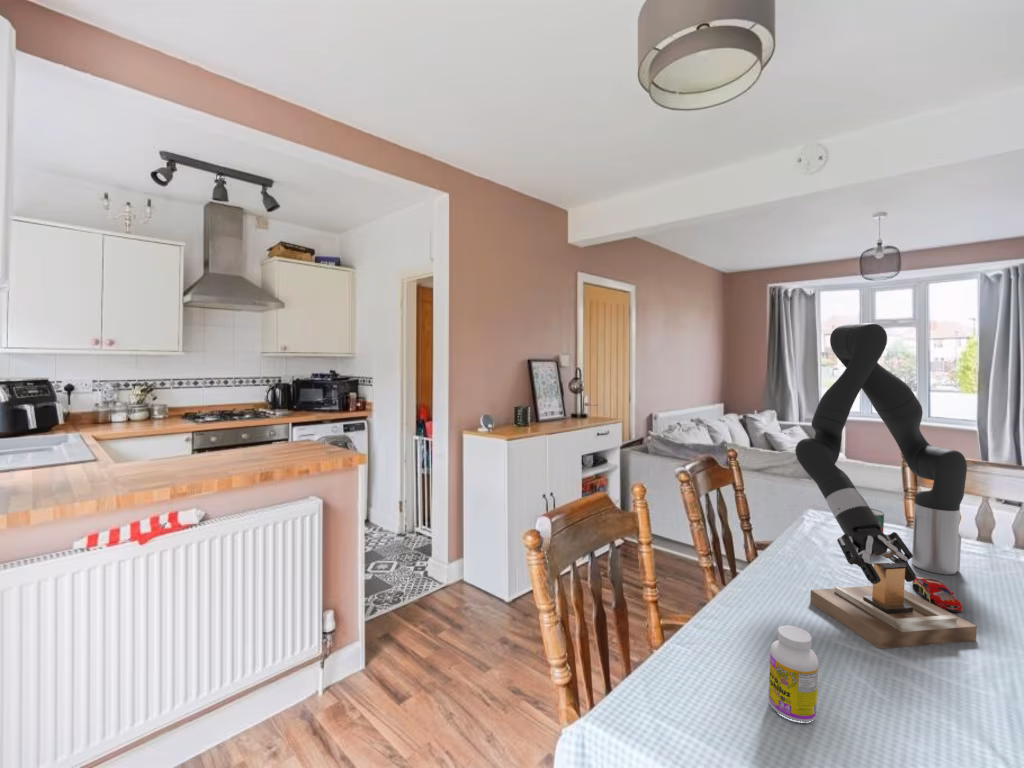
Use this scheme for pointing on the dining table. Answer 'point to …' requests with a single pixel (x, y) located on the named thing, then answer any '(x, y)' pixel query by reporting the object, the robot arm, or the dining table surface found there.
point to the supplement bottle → (793, 675)
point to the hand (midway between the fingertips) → (894, 581)
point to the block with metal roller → (889, 589)
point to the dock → (893, 619)
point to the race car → (937, 594)
